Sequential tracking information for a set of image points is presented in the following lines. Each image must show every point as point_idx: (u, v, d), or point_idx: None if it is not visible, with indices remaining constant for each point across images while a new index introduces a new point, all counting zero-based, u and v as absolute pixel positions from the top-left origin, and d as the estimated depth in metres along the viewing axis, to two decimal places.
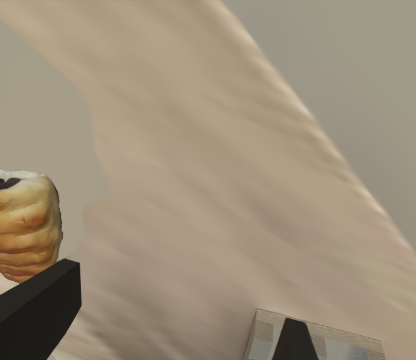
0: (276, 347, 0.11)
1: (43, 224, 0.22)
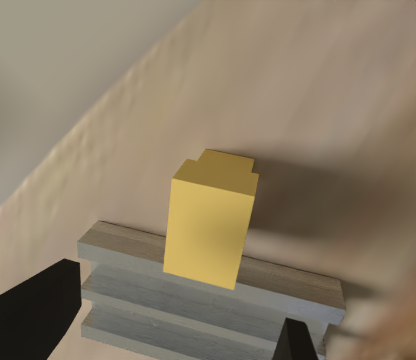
0: (276, 347, 0.11)
1: None
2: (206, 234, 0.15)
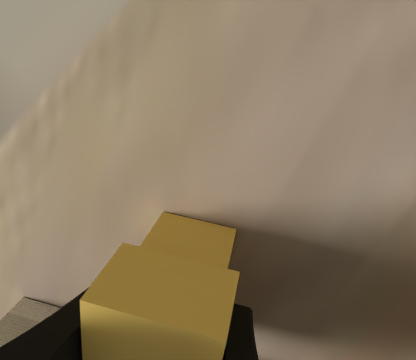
0: None
1: None
2: None
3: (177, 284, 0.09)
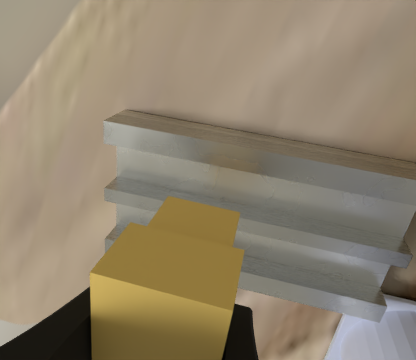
0: None
1: None
2: (154, 358, 0.09)
3: (184, 260, 0.09)
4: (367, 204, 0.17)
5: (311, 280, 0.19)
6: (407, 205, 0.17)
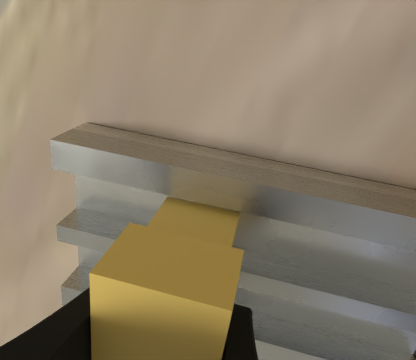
0: None
1: None
2: (153, 358, 0.09)
3: (183, 260, 0.09)
4: (401, 253, 0.13)
5: (324, 346, 0.15)
6: None
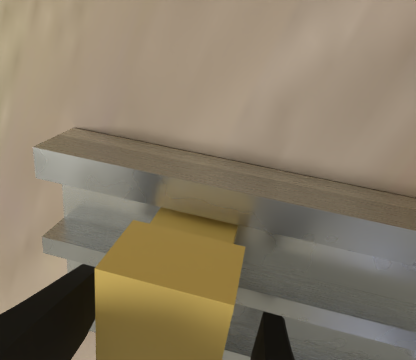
0: (255, 341, 0.11)
1: None
2: (157, 352, 0.09)
3: (186, 256, 0.09)
4: (408, 268, 0.12)
5: None
6: None
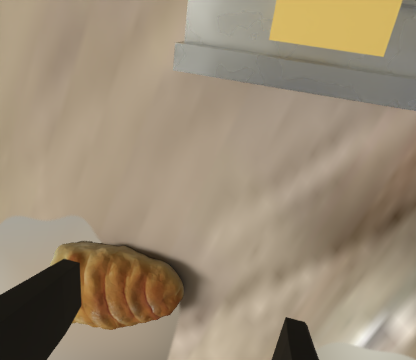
0: (276, 347, 0.11)
1: (83, 257, 0.23)
2: None
3: None
4: None
5: None
6: None
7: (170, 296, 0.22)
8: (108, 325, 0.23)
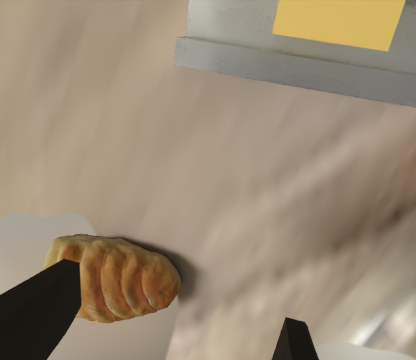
0: (276, 347, 0.11)
1: (79, 250, 0.22)
2: None
3: None
4: None
5: None
6: None
7: (166, 288, 0.22)
8: (105, 318, 0.23)
